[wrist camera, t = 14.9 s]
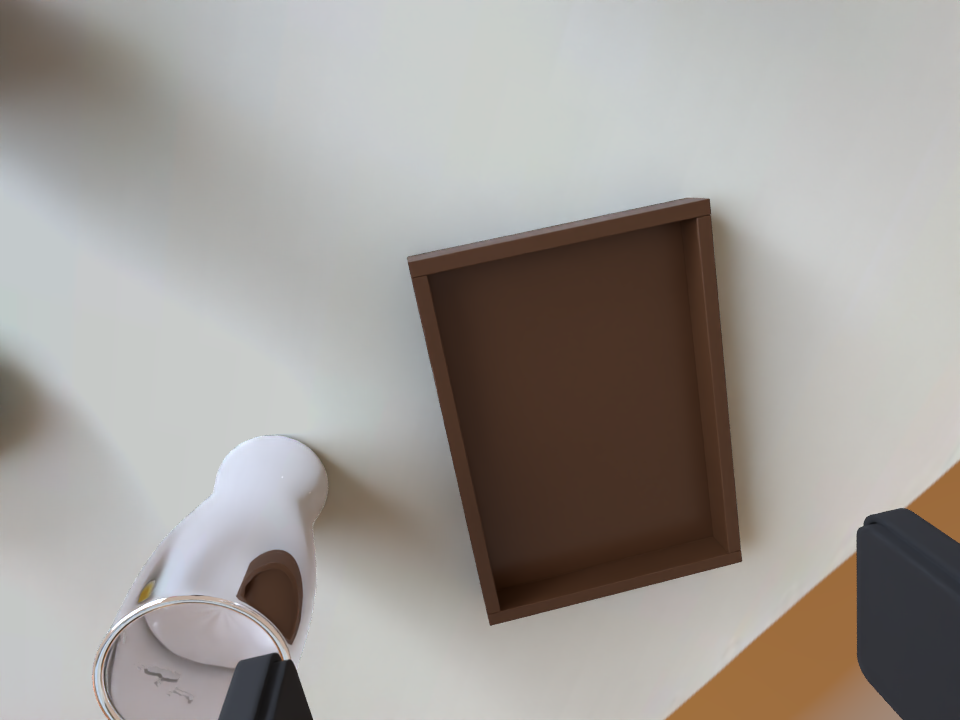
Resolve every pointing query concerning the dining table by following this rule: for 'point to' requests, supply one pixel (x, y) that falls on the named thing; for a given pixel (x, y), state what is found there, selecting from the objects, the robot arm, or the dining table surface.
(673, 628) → the dining table surface
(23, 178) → the dining table surface
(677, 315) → the tray
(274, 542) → the beer glass
